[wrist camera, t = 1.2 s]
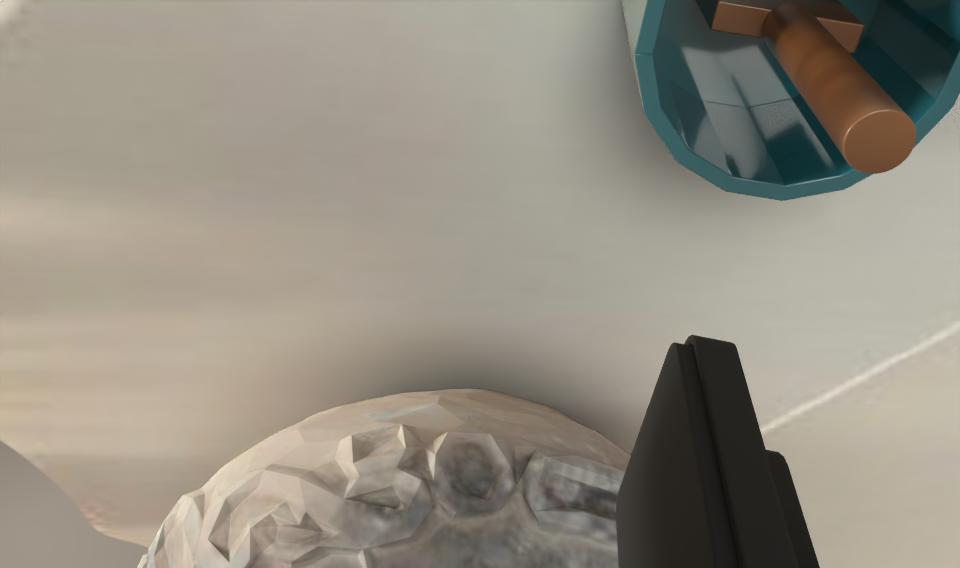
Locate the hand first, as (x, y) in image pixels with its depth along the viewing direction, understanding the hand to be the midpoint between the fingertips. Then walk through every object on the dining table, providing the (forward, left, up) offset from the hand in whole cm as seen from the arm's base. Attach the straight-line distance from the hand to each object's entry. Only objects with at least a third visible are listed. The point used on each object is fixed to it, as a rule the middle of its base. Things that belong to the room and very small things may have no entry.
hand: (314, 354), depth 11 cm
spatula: (+1, +13, -33) cm, 35 cm away
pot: (+1, +13, -33) cm, 36 cm away
